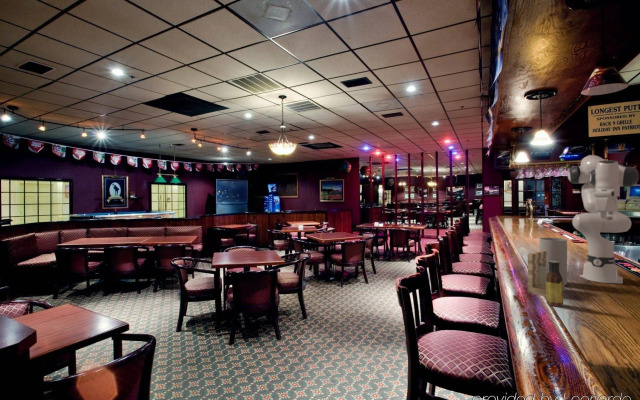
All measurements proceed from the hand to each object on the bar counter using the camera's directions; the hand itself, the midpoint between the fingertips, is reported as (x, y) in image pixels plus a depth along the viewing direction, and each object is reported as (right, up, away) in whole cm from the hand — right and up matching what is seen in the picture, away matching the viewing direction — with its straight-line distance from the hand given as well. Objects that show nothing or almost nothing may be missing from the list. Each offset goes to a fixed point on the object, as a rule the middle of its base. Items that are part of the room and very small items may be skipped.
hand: (607, 220), depth 155 cm
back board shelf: (-25, -37, +7) cm, 45 cm away
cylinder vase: (-10, -37, +23) cm, 45 cm away
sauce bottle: (-35, -38, -12) cm, 53 cm away
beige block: (-25, -34, +9) cm, 43 cm away
